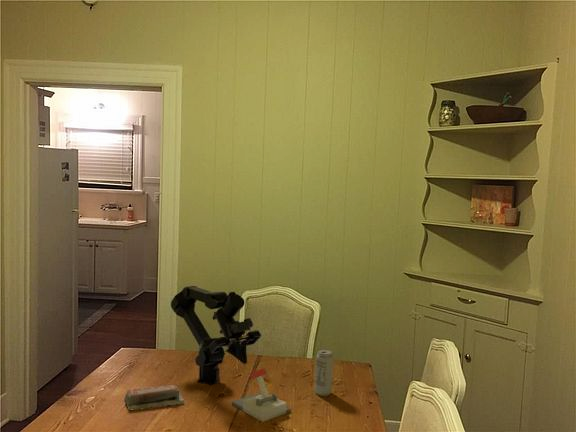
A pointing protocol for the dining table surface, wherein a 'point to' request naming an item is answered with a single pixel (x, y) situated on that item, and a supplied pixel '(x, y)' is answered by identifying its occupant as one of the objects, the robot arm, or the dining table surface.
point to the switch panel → (262, 407)
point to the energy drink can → (324, 372)
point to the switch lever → (261, 384)
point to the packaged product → (153, 397)
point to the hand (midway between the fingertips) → (245, 363)
